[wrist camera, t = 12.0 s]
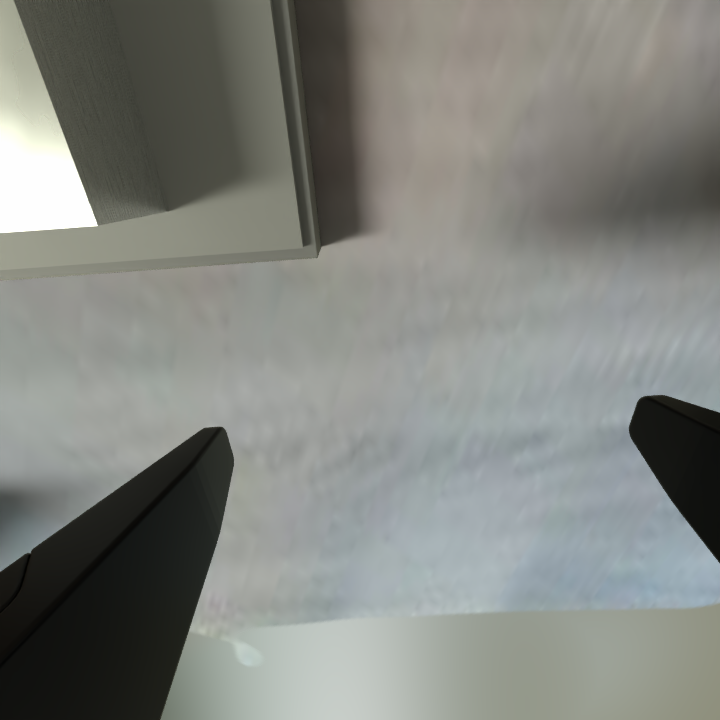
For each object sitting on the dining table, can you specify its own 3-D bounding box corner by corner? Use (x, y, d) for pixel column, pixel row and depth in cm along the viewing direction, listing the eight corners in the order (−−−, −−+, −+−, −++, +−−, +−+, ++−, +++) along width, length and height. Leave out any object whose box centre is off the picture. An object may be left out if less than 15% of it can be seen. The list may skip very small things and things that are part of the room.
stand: (270, -214, 11) (246, -333, 9) (321, 247, 18) (316, 259, 15) (-237, -175, 11) (-416, -282, 9) (-4, 270, 18) (-66, 287, 15)
